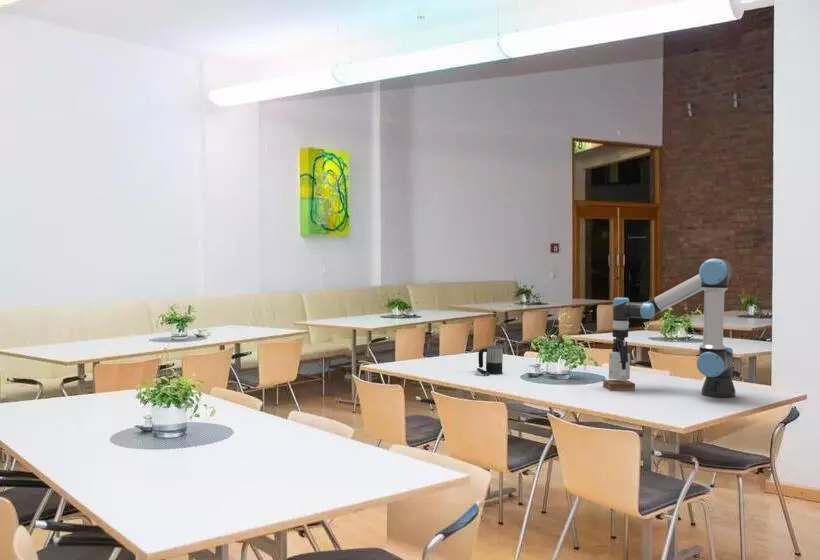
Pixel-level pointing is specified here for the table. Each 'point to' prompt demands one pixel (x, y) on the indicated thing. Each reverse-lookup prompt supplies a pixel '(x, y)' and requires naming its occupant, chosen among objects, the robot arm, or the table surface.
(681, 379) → the table surface
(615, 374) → the small box
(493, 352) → the milk frother
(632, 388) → the walnut block
